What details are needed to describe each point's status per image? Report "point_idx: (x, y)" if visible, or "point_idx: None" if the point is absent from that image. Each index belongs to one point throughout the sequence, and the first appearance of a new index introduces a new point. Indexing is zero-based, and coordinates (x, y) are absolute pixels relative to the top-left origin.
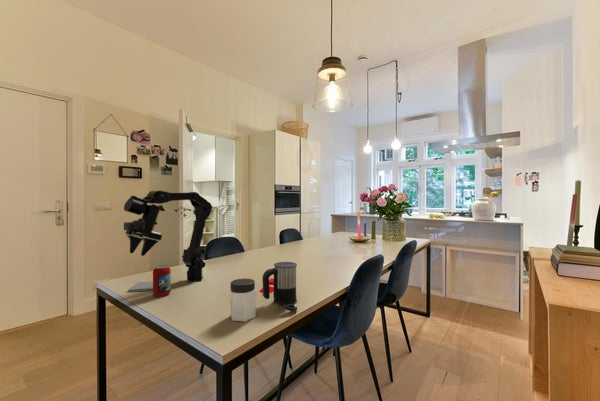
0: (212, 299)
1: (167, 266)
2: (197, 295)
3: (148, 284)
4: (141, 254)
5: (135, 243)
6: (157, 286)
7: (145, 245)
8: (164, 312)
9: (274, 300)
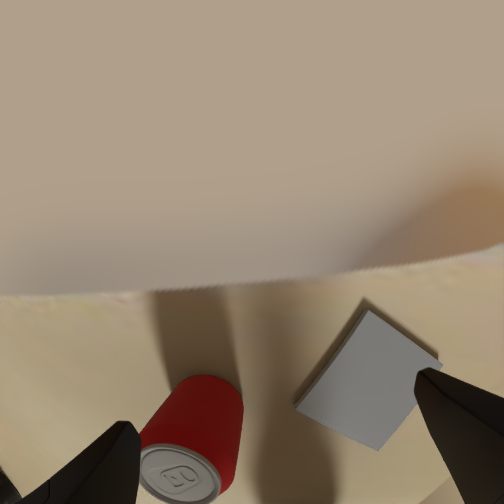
0: (62, 454)
1: (167, 496)
2: None
3: (377, 397)
4: (115, 424)
5: (484, 480)
6: (169, 396)
7: (34, 500)
8: (38, 322)
9: (1, 477)
